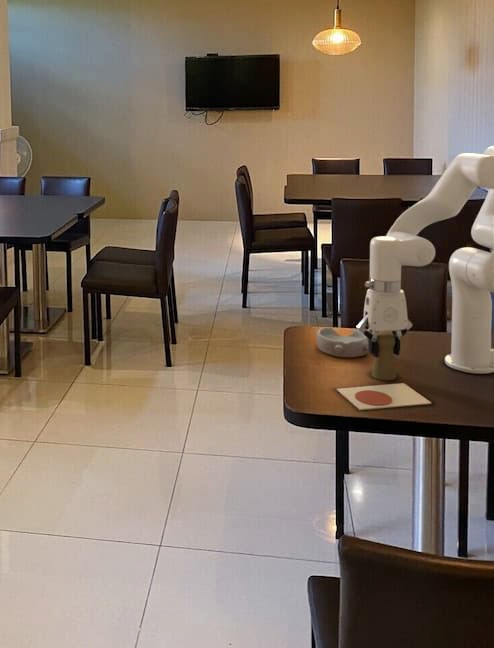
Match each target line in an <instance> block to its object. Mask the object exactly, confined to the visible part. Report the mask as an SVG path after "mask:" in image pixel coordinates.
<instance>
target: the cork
mask: <svg viewBox="0 0 494 648" xmlns="http://www.w3.org/2000/svg"><path fill="white" fill-rule="evenodd" d="M376 341H377V342H378V356H377V357H374V356H373V357H374V358H373V364H372V370H371V377H373V378H375V379H377V380H381V381H394V380H396V379H397V372H396V371H397V370H396V364H395V363H396V362H395V356H394V355H395V354H394V353H393V347H394V345H395V338H394V337H393V334H392V333H391V334H390V333H387V332H378V335H377V339H376Z"/></svg>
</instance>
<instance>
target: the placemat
mask: <svg viewBox="0 0 494 648" xmlns="http://www.w3.org/2000/svg"><path fill="white" fill-rule="evenodd" d="M336 391H337V392H338V393H339V394H341V395H342V396H343V397H344V398H345V399H346V400H347V401H349V402H350V403H351V404H352V405H353V406H354V407H356V408H357V409H358V410H359V411H366V410H367V411H368V410H379V409H391V408H399V407H400V408H401V407H402V408H403V407H412V406H423V405H425V406H426V405H432V404H433V403H432V402H431V400H428V399H427V398H425V397H424V396H423V395H421V394H420V393H418V392H417V391H416V390H414V389H413V388H412V387H410V386H409V385H408V384H406V383H404V382H402V383H401V382H400V383H389V384H377V385H365V386H352V387H342V388H341V387H339V388H336Z"/></svg>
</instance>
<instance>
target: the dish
mask: <svg viewBox="0 0 494 648" xmlns="http://www.w3.org/2000/svg"><path fill="white" fill-rule="evenodd" d="M316 343H317V347H318V349H319V350H320V352H323V353H325V354H326V355H327V354H328V355H329V356H330V355H331V356H335V357H337V358H338V357H339V358H358V357H363V356H366V355H367V354H368V352H369V350H368V344H369V339H368V338H367V337H366V336H365V335H364V334H363V333H362V332H360V331H359V330H358V329H355V330H354V331H352V333H351V334H348V335H341V334H339V333H338V332H336V330H334V328H333V327H332V326H326V327H322V328H319V329H317V334H316Z"/></svg>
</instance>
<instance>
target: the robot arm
mask: <svg viewBox="0 0 494 648" xmlns="http://www.w3.org/2000/svg"><path fill="white" fill-rule="evenodd" d="M477 188H481V189H486V190H487V189H488V190H487V195H486V197H485V199H484V201H483V203H482V205H481V207H480V210H479V212H478V214H477V215H476V217H475V219H474V222H473V224H472V226H471V231H470V235H471V238H472V240H473V241H474V242H475V243H476V244H478V245H480V246H482V247H485V248H488V249H492V251H491V252H489V251H486V250H483V249H479V248H476V247H468V246H466V247H460V248H458V249H456V250H455V251H453V253H452V254H451V256H450V258H449V261H448V272H449V277H450V283H451V294H452V295H451V299H452V300H451V344H450V345H451V346H450V349H451V351H450V354H447V355H446V356H445V357H444V363H445V365H446V366H447V367H449V368H451V369H453V370H455V371H456V370H457V371H460V372H463V373H469V374H478V375H483V374H484V375H485V374H491V373H494V348H492V319H493V316H492V314H493V302H492V301H493V300H492V295H491V293H494V145H492V146H489V147H486V149H485V150H483V152H482V153H481V154H480V153H471V152H468V153H467V152H466V153H460V154H458V155H456V156H455V157H454V158H453V159H452V161H451V162H450V163H449V165H448V166H447V168H445V170H444V172H443V174H442V175H441V176H440V178H439V179H438V180H437V182H436V184H435V185H434V186H433V188H432V189H431V191H430V192H429V193H428V195H427V196H426V197H424V198H422V199H421V200H419V201H418V202H416V203H414V204H413V205H412V206H411V207H409V208H407V209H406V210H405V211H403V212H402V213H401V214H400V215H399V217H397V219H396V220H395V221H394V223H393V225H391V227H390V228H389V230H388V231H387V233H386V235H384V236H383V235H381V236H374V237H373V238H371V240H370V242H369V278H368V281H365V283H364V286H365V288H368V289H367V290H366V295H365V300H364V306H363V318H362V319H361V320H360V321H359V323H358V324H357V325H356V330H359V331H360V332H362V333H363V334H364V335H365V336H366V337H367V338H368V340H369V344H368V352H369V354H370V355H371V356H372V357H377V356H378V342H377V341H376V339H377V335H378V333H385V332H391V335H392V336H393V337H394V338H395V345H394V347H393V354H394V355H395V356H400V351H401V341H402V340H403V337H404V336H405V335H406V334H407V332H408V331H409V330H410V329H411V328H412V327H413V323H412V321H410V319H409V317H408V306H407V301H406V300H407V299H406V294H405V291H404V290H403V289H402V266H407V267H425V266H428V265H429V264H431V263H432V262H433V261H434V259H435V257H436V248H435V246H434V245H433V243H432V242H431V241H430V240H428V239H426V238H424V237H421V236H418V234H419V233H420V232H421V231H422V230H424V229H425V228H426V227H428V226H430V225H431V224H434V223H437V222H440V221H441V222H442V221H444V220H447V219H450V218H453V217H456V216H457V215H458V214H459V213H460V212H461V210H462V209H463V208H464V205H465V204H466V203H467V202H468V201H469V199H470V197H471V196H472V195H473V193H474V192H475V191H476V189H477ZM366 327H367V328H368V329H366Z"/></svg>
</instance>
